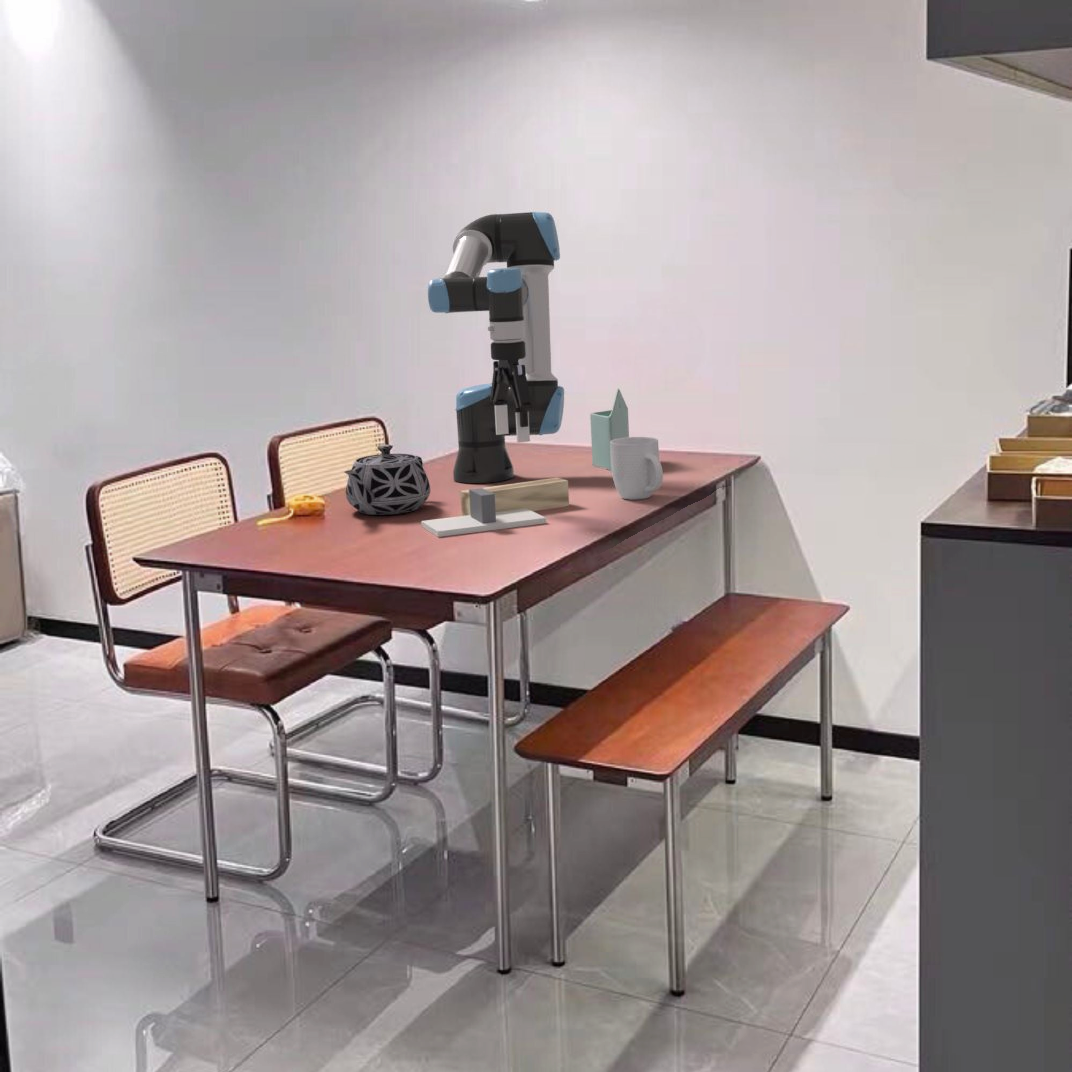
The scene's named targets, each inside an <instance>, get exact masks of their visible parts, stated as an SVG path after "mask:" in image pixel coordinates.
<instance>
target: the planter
mask: <svg viewBox="0 0 1072 1072" xmlns="http://www.w3.org/2000/svg"><path fill="white" fill-rule="evenodd" d="M614 397H615V398H614V401H613V405H612V409H610V410H603V411H597V412H591V413H590V415H589V416H590V419H589V420H590V434H591V435H590V436H591V437H590V438H591V461H592V462H591V463H592V466H594V465H595V466H594V467H596V466H598V467H597V468H600V467H602V468H601V469H603V468H605V470H607V469H608V471H610V472H612V470H611V458H610V457H611V456H610V441H611V440H614V439H618V438H626V437H630V427H629V408H628V405H627V403H626V400H625V398H624V397H623V394H622V392H621V390H620V388H617V390H616V393H615V396H614Z"/></svg>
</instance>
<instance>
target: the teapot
mask: <svg viewBox="0 0 1072 1072" xmlns="http://www.w3.org/2000/svg"><path fill="white" fill-rule="evenodd" d="M393 446H394V445H392V444H381V445H378V446H377V447H376V448H377V449H378V451H379V452H381V453H379V454H373V455H366V456H361V457H359V458H357V459H355V460H354V462H353V464H352V467H351V469H350V470H349V469H348V470H345V471H343V473H345V474H346V475H348V478H347V482H346V488H345V497H346V500H347V502H348V503H349V504H350V506H352V507H353V508H355V510H357V512H359V513H361V514H365V515H369V516H370V515H371V516H391V515H399V514H406V513H409V512H413V511H416V510H418V509H419V508H421V506H422V505H423V504H425V502H426V501H427V500H428V498H429V497H430V494H431V484H430V481H429V478H428V475H427V473H426V471H425V469H424V467H423V465H424V464H423V459H422V457H420V456H419V455H414V454H409V453H390V452H391V450H392V449H393V448H394V447H393Z"/></svg>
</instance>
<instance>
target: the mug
mask: <svg viewBox="0 0 1072 1072" xmlns="http://www.w3.org/2000/svg"><path fill="white" fill-rule="evenodd" d="M659 450H660V448H659V439H658V438H655V437H648V436H629V437H626V438H618V439H614V440H611V441H610V456H611V457H610V458H611V470H612V471H611V474H612V479H613V482H614V483H613V484H614V486H615V489H616V491H617V493H618V494H619V496H620V498H622V499H624V500H632V501H634V500H635V501H636V500H646V499H649V498H650V497H651V496H652V495H653V493H654V491H657V490H659V489H660V487H661V486H662V484H663V480H664V473H663V471H664V470H663V467H662V463H661V461H660V452H659Z"/></svg>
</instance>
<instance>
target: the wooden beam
mask: <svg viewBox="0 0 1072 1072" xmlns="http://www.w3.org/2000/svg"><path fill="white" fill-rule="evenodd" d="M479 488H480V487H479ZM479 488H477V489H479ZM482 488H483V489H485V490H487V491H489V492H491V493H493V494H495V511H496V512H499V511H507V510H515V509H524V508H527V509H529V510H531V511H533V512H536V511H538V512H539V511H544V510H550V509H556V508H557V509H558V508H563V507H565V508H566V507H569V506H570V500H569V499H570V493H569V480H567V479H563V478H561V477H552V478H546V479H544V478H543V479H537V480H531V481H522V482H515V483H509V484H501V485H494V486H487V487H482ZM469 490H470V489H466V490H460V502H461V503H460V506H461V516H467V515H471V513H470V496H469Z"/></svg>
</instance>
